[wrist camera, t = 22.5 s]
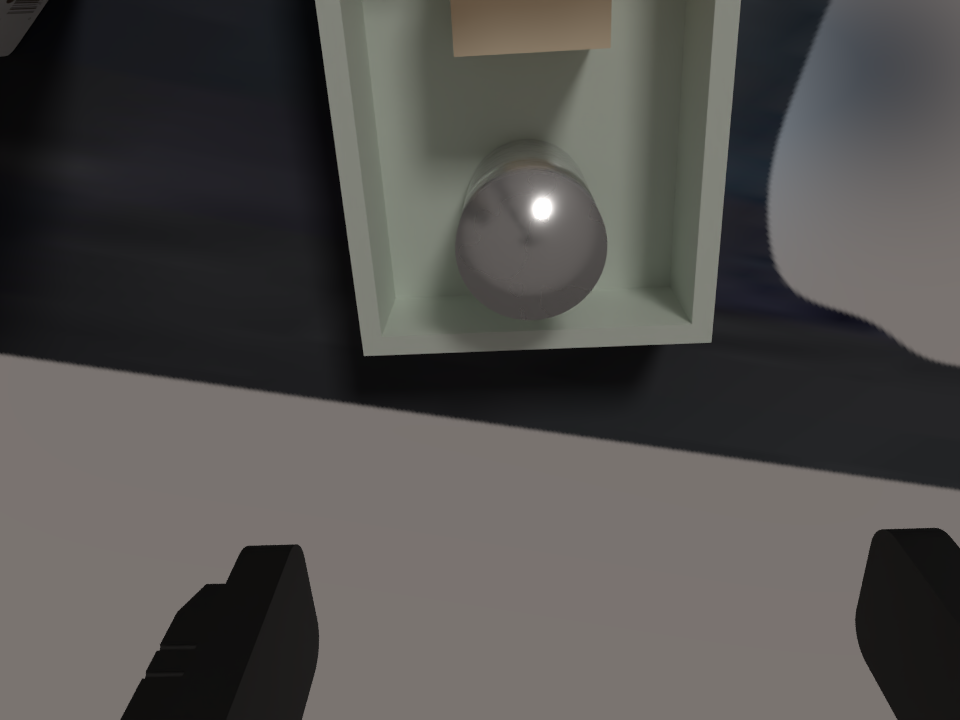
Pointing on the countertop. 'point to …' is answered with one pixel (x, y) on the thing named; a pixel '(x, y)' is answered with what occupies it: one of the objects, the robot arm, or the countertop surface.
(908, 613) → the robot arm
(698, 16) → the tote
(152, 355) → the countertop surface
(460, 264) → the grey metal cylinder
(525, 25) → the beech cube
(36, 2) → the coffee box
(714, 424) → the countertop surface
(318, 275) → the countertop surface
